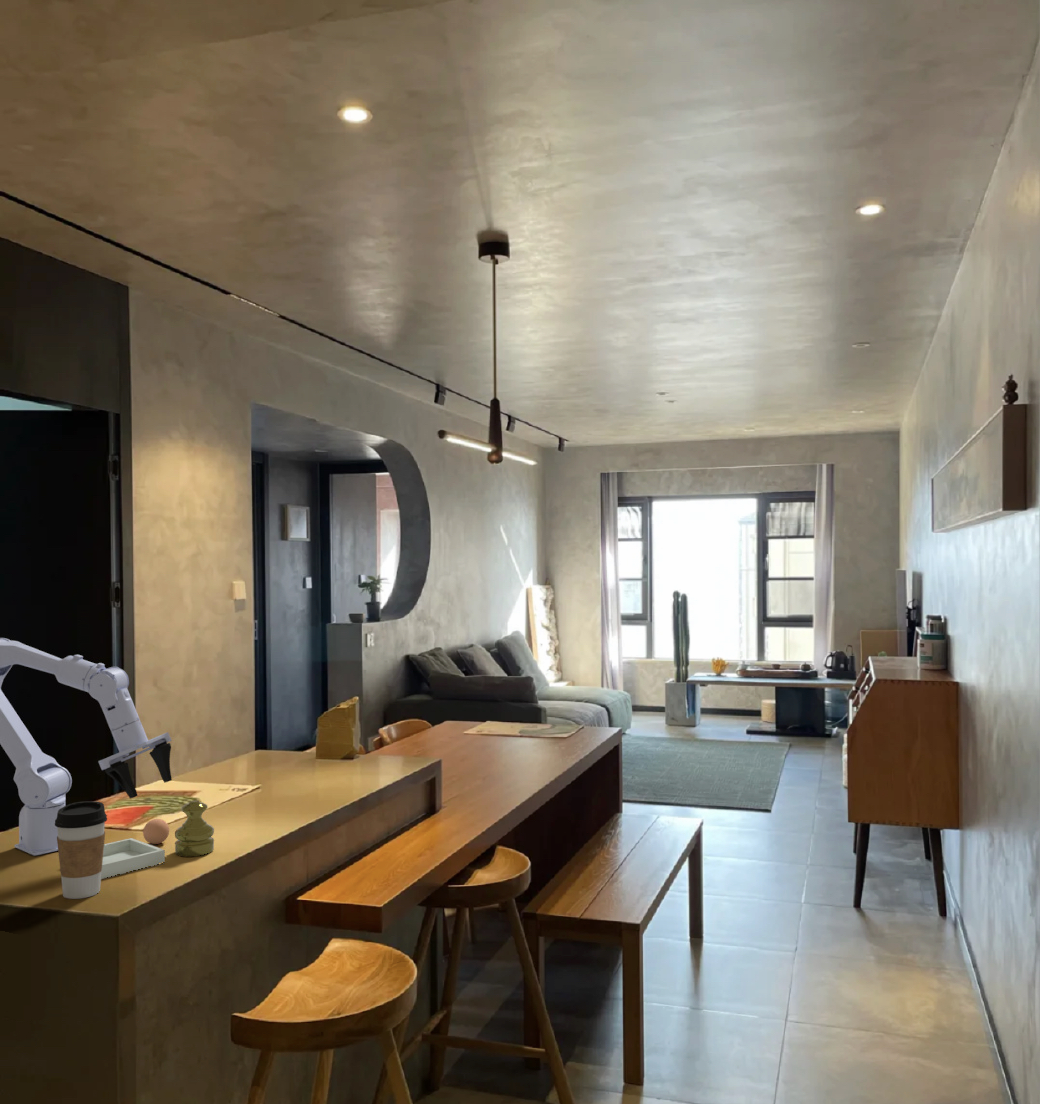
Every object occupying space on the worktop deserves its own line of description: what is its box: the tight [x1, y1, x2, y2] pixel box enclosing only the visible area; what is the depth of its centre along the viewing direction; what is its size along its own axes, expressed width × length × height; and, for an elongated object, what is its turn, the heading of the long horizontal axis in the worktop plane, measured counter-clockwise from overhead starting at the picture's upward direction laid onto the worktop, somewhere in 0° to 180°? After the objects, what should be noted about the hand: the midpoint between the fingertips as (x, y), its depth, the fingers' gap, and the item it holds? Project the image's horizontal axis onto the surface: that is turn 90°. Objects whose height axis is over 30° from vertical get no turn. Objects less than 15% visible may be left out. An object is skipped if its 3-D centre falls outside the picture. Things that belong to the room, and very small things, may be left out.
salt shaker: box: [174, 799, 215, 858], centre depth 199 cm, size 7×7×10 cm
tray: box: [101, 837, 166, 880], centre depth 191 cm, size 13×13×2 cm
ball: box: [142, 818, 170, 845], centre depth 205 cm, size 5×5×5 cm
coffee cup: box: [55, 800, 108, 900], centre depth 175 cm, size 8×8×15 cm
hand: (151, 789), depth 201 cm, fingers open, 7 cm apart
